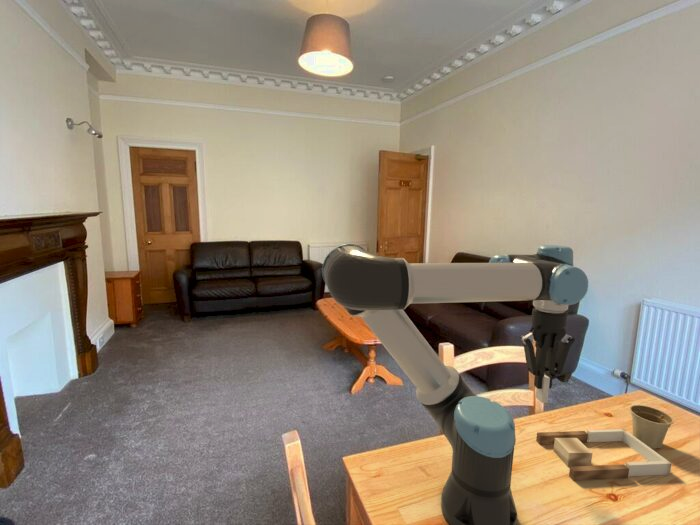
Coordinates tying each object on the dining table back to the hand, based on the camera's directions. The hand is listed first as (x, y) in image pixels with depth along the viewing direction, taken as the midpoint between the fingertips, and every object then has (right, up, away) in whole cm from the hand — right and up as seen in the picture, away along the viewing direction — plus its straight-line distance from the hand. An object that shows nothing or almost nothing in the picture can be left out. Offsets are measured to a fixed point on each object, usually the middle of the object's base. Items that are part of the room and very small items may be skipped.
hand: (541, 399), depth 90 cm
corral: (+24, -17, +4) cm, 30 cm away
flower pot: (+35, -16, +10) cm, 40 cm away
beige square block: (+10, -17, +3) cm, 20 cm away
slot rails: (+12, -17, +3) cm, 20 cm away
